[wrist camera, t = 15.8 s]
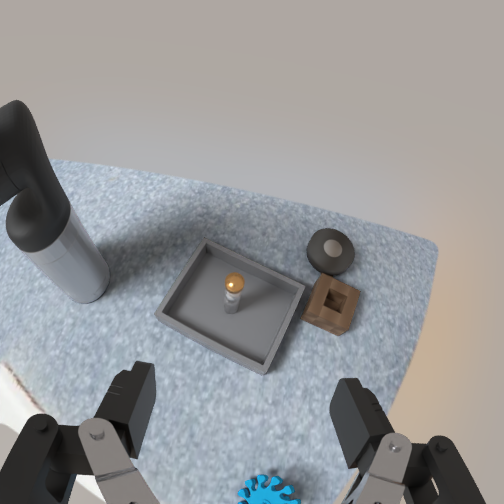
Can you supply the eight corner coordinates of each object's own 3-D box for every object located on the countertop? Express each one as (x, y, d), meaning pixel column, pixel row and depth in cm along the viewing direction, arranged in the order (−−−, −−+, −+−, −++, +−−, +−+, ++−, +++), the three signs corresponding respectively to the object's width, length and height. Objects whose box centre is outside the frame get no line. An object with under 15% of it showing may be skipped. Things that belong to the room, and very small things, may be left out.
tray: (158, 320, 42) (154, 313, 39) (204, 248, 49) (204, 237, 46) (262, 375, 40) (266, 373, 37) (299, 294, 47) (305, 285, 44)
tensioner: (278, 308, 46) (284, 298, 42) (311, 235, 53) (318, 220, 49) (338, 336, 44) (350, 328, 40) (362, 260, 52) (373, 247, 48)
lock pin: (220, 310, 44) (221, 284, 35) (227, 297, 45) (230, 269, 36) (234, 317, 43) (239, 293, 35) (241, 304, 45) (248, 277, 36)
